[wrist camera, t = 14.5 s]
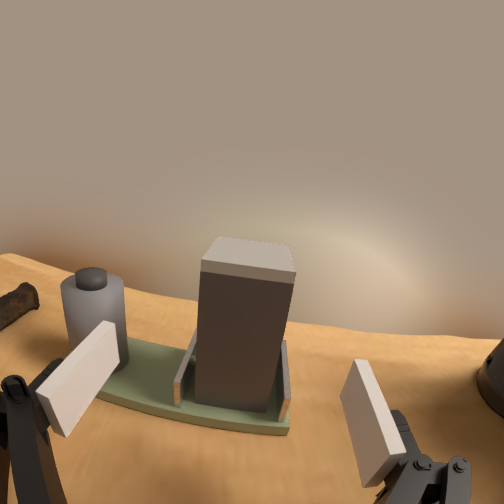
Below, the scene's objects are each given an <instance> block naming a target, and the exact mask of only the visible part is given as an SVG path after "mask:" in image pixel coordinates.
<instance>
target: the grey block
mask: <svg viewBox="0 0 504 504" xmlns="http://www.w3.org/2000/svg"><path fill="white" fill-rule="evenodd" d="M295 276H296V270H295V266H294V263H293V259H292V256H291V252H290V249H289V246H288V245H281V244H274V243H266V242H259V241H252V240H244V239H237V238H229V237H222V236H218V237H217V239H216V240H215V241H214V243H213V244H212V245H211V247H210V248H209V250H208V251H207V253H206V254H205V255H204V257H203V258H202V259H201V272H200V286H199V301H198V319H197V340H196V367H195V403H196V404H202V405H207V406H213V407H219V408H226V409H233V410H240V411H248V412H257V413H266V410H267V406H268V402H269V398H270V394H271V390H272V385H273V381H274V377H275V372H276V368H277V364H278V359H279V355H280V350H281V346H282V341H283V336H284V332H285V327H286V322H287V317H288V312H289V307H290V302H291V297H292V292H293V286H294V281H295Z"/></svg>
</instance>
